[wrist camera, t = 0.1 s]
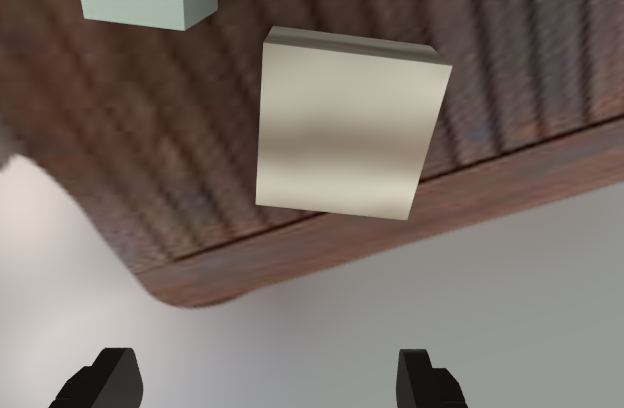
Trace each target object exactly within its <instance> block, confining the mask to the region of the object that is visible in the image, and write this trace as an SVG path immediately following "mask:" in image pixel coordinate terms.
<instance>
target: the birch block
mask: <svg viewBox="0 0 624 408" xmlns="http://www.w3.org/2000/svg"><path fill="white" fill-rule="evenodd" d="M451 69H452V65H451V64H450V63H448V62H447V61H446V60H445V59H444V58H443V57H442V56H441V55H440V54H438V53H437V52H436V51H435V50H434V49H433V48H432V47H431V46H429V45H421V44H413V43H405V42H397V41H390V40H382V39H374V38H366V37H358V36H350V35H342V34H334V33H326V32H318V31H310V30H303V29H295V28H287V27H279V26H273V27H272V29H271V30H270V32H269V34H268V35H267V37H266V39H265V41H264V42H263V61H262V82H261V103H260V124H259V145H258V166H257V187H256V205H266V206H275V207H285V208H294V209H304V210H313V211H323V212H333V213H342V214H352V215H361V216H371V217H381V218H390V219H400V220H407V218H408V215H409V211H410V208H411V205H412V201H413V198H414V195H415V191H416V188H417V184H418V181H419V178H420V174H421V171H422V167H423V164H424V161H425V157H426V154H427V151H428V147H429V144H430V140H431V137H432V134H433V130H434V127H435V123H436V120H437V117H438V113H439V110H440V107H441V103H442V100H443V96H444V93H445V90H446V86H447V83H448V79H449V76H450V73H451Z"/></svg>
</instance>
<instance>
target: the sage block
mask: <svg viewBox="0 0 624 408" xmlns="http://www.w3.org/2000/svg"><path fill="white" fill-rule="evenodd" d="M81 2H82V8H83V14H84V18H86V19H94V20H102V21H110V22H118V23H126V24H134V25H142V26H150V27H159V28H167V29H175V30H183V31H185V30H187V29H188V28H190V27H191V26H193V25H195V24H196V23H198V22H199V21H201V20H203V19H204V18H206V17H207V16H209V15H210V14H212V13H214V12H215V11H217V10H218V0H81Z"/></svg>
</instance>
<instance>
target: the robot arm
mask: <svg viewBox="0 0 624 408" xmlns="http://www.w3.org/2000/svg"><path fill="white" fill-rule="evenodd" d="M142 396H143V383H142V378H141V375H140V371H139V367H138V364H137V360H136V356H135V353H134V351H133V349H132V348H105V349H103V350H102V351H101V352H100V354H99V355H98V357H97V358H96V360H95V361H94V363H93V364H92V366H84V367H83V368H82V369H80V371H78V372H77V373H76V374H75V375H73V376H72V377H71V378H70V379H69V380H68V381H67V382H66V383H65V385H64V386H63V387H62V389H61V390H60V392H59V393H58V395H57V396H56V399H55V400H54V401H53V402H52V403H51V405H50V406H49V408H139V407H140V404H141V401H142ZM396 399H397V407H398V408H468V406H467V404H466V403H465V398H464V396H463V393H462V390H461V388H460V385H459V383H458V382H457V381H456V379H455V378H454V377H453V376H452V375H451V374H450V373H449V371H448V370H447V369H446V368H432V365H431V362H430V358H429V355H428V353H427V351H426V349H401V350H400V352H399V361H398V372H397V382H396Z"/></svg>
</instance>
